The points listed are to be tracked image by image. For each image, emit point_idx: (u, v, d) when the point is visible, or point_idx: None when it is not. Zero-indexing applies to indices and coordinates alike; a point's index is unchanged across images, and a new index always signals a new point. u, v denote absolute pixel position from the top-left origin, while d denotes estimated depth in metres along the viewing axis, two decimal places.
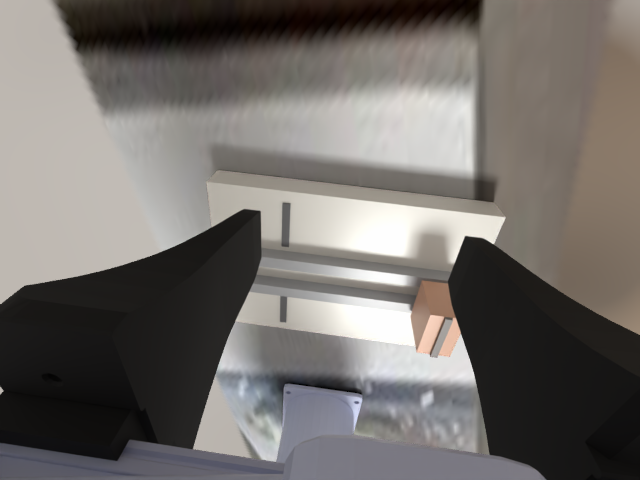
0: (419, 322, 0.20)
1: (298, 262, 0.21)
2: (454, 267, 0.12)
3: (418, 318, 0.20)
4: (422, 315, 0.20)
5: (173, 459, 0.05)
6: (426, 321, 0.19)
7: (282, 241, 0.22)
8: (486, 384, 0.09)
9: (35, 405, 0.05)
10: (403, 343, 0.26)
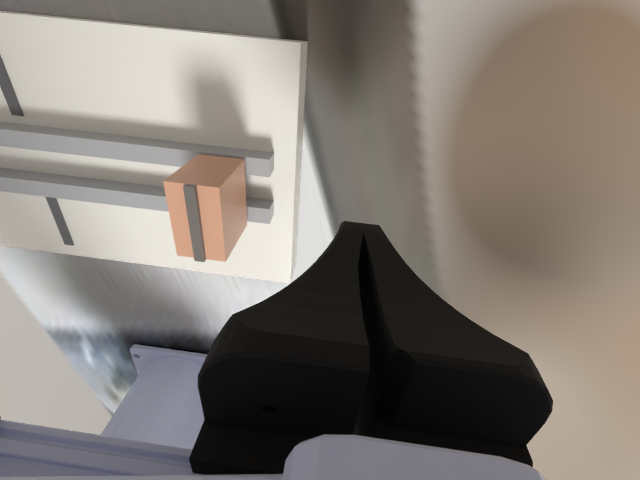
0: None
1: (26, 133, 0.15)
2: None
3: None
4: None
5: (173, 459, 0.05)
6: (170, 199, 0.12)
7: (8, 105, 0.15)
8: None
9: (241, 436, 0.05)
10: (234, 274, 0.19)
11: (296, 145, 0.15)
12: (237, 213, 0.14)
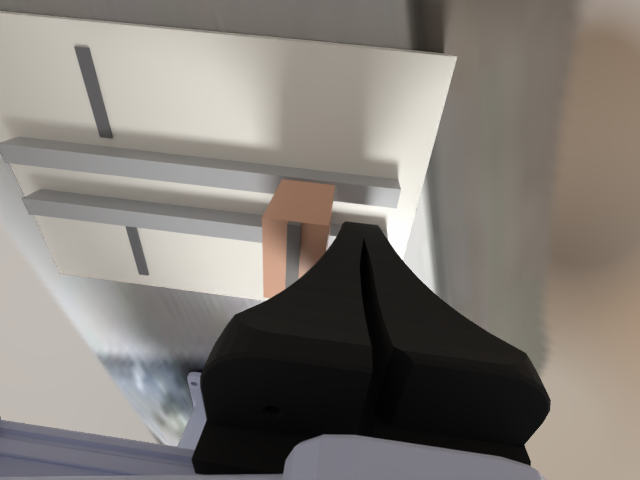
0: None
1: (120, 159, 0.13)
2: None
3: None
4: None
5: (173, 459, 0.05)
6: (264, 236, 0.10)
7: (97, 126, 0.13)
8: None
9: (244, 437, 0.05)
10: None
11: (425, 171, 0.13)
12: (327, 246, 0.12)
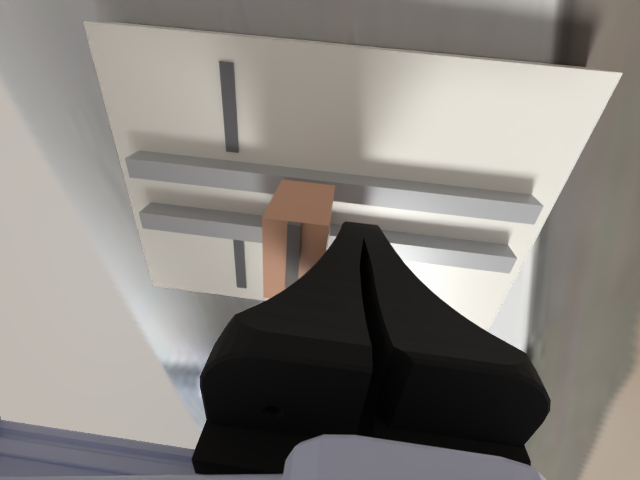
0: None
1: (252, 174, 0.13)
2: None
3: None
4: None
5: (173, 459, 0.05)
6: (264, 236, 0.10)
7: (226, 140, 0.13)
8: None
9: (244, 437, 0.05)
10: None
11: (561, 186, 0.13)
12: (327, 247, 0.12)
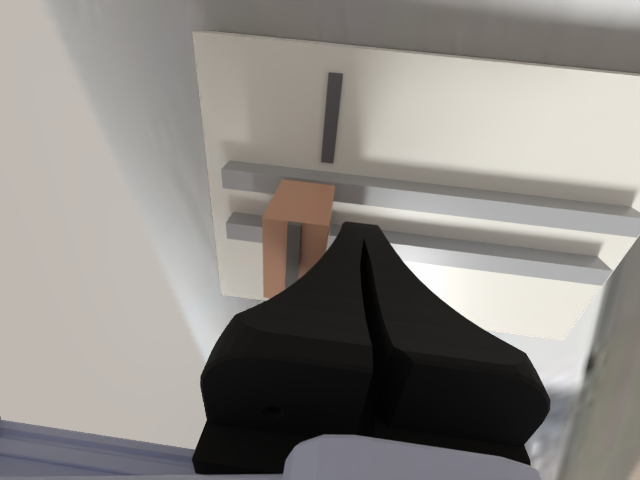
0: None
1: (351, 186, 0.12)
2: None
3: None
4: None
5: (173, 459, 0.05)
6: (264, 236, 0.10)
7: (322, 151, 0.13)
8: None
9: (244, 437, 0.05)
10: (497, 330, 0.17)
11: None
12: (327, 247, 0.12)
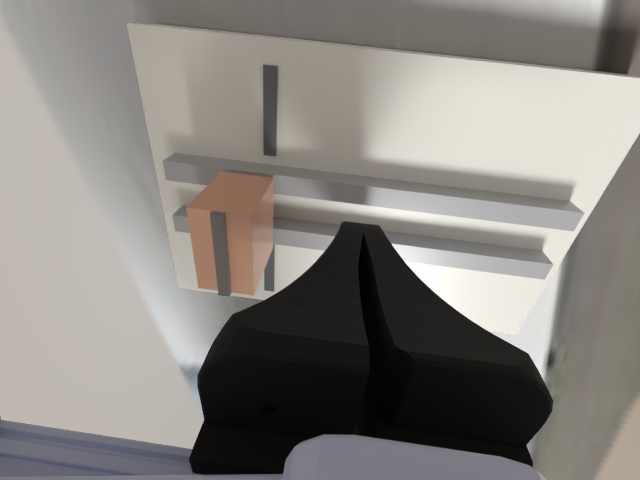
0: None
1: (291, 178, 0.13)
2: None
3: None
4: None
5: (173, 459, 0.05)
6: (192, 226, 0.10)
7: (264, 144, 0.13)
8: None
9: (241, 436, 0.05)
10: None
11: (599, 193, 0.13)
12: (265, 238, 0.12)
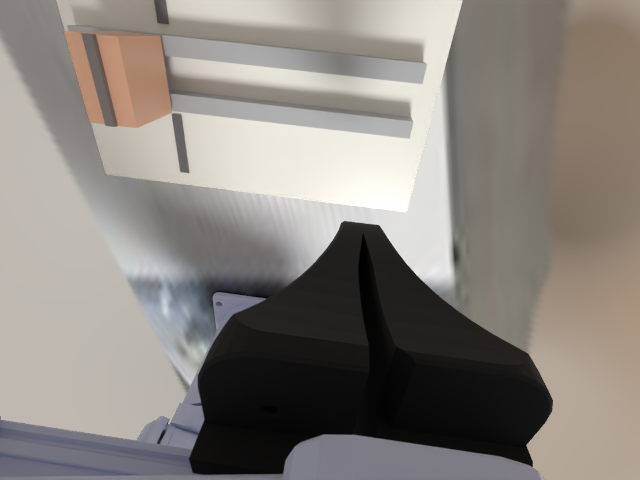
0: None
1: (177, 38, 0.14)
2: None
3: None
4: None
5: (173, 459, 0.05)
6: (75, 55, 0.12)
7: (156, 11, 0.15)
8: None
9: (241, 436, 0.05)
10: (349, 204, 0.19)
11: (447, 53, 0.15)
12: (153, 88, 0.14)
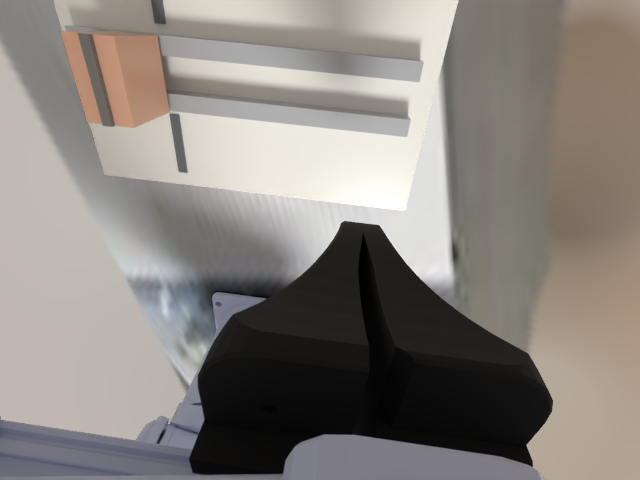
0: None
1: (174, 38, 0.14)
2: None
3: None
4: None
5: (173, 459, 0.05)
6: (72, 56, 0.12)
7: (153, 11, 0.15)
8: None
9: (241, 436, 0.05)
10: (348, 203, 0.19)
11: (444, 51, 0.15)
12: (150, 87, 0.14)
